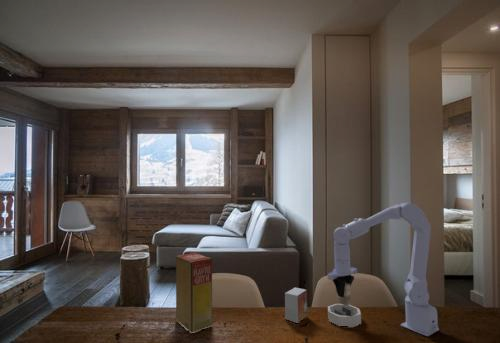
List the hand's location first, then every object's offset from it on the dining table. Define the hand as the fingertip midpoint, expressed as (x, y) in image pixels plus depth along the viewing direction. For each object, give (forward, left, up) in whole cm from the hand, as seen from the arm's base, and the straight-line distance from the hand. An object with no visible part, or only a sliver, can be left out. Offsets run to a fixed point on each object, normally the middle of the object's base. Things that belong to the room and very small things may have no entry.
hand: (343, 295), depth 114 cm
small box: (+11, +14, -9) cm, 20 cm away
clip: (0, 0, -9) cm, 9 cm away
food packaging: (+30, +48, -9) cm, 57 cm away
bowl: (0, 0, -9) cm, 9 cm away
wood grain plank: (0, 0, -3) cm, 3 cm away
